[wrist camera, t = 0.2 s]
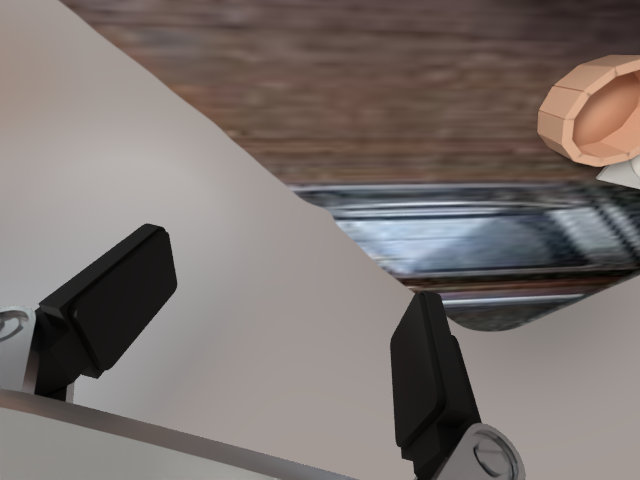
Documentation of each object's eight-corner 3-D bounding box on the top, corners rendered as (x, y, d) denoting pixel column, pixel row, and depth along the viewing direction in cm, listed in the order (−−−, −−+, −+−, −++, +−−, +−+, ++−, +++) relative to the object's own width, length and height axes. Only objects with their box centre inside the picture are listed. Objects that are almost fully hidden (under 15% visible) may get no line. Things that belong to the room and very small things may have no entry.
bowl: (576, 47, 33) (611, 46, 28) (670, 67, 32) (723, 70, 27) (520, 141, 39) (541, 153, 34) (598, 159, 39) (631, 174, 34)
